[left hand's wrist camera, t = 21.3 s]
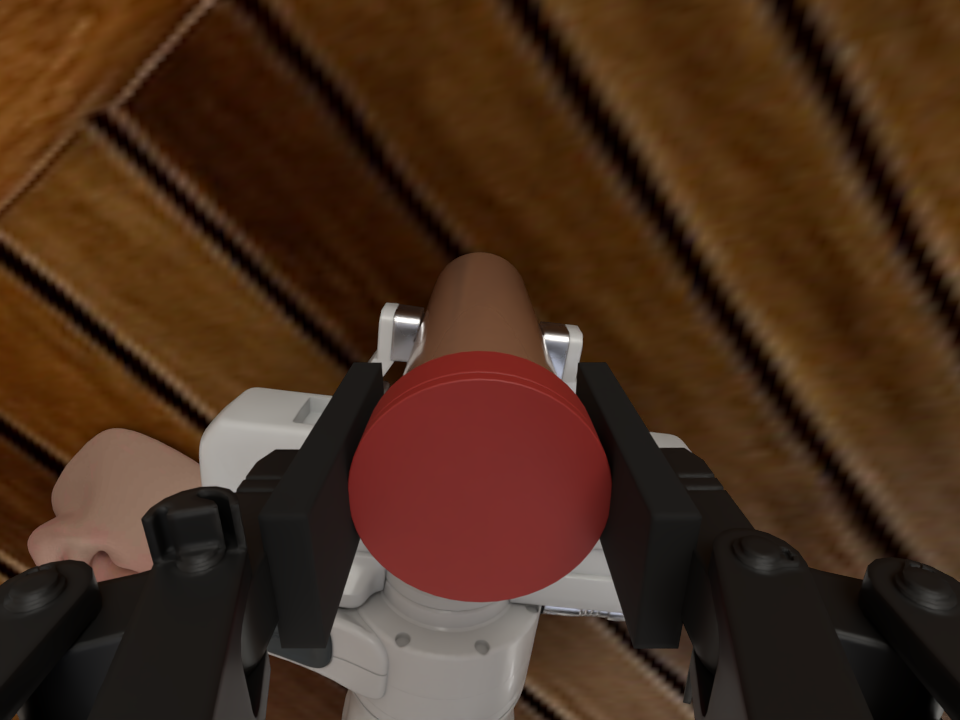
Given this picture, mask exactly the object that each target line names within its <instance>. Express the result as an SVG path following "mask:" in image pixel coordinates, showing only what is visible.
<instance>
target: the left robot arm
mask: <svg viewBox="0 0 960 720" xmlns="http://www.w3.org/2000/svg"><path fill="white" fill-rule="evenodd" d="M383 395H384V387H383V373H382V363H353V364H352V366H351V368H350V369H349V371H348V372H347V374H346V376H345V377H344V379H343V380H342V382H341V384H340V385H339V387H338V388H337V390H336V392H335V393H334V395H333V396H332V398H331V400H330V401H329V403H328V404H327V406H326V408H325V409H324V411H323V413H322V414H321V416H320V417H319V419H318V421H317V422H316V424H315V425H314V427H313V429H312V430H311V432H310V433H309V435H308V437H307V438H306V440H305V441H304V443H303V445H302V446H301V448H300V449H275V450H274V451H272V452H271V453H269V454H268V455H266V456H265V457H263V458H262V459H260V460H259V461H257V462H256V463H255V465H254V466H253V468H252V469H251V470H250V472H249V473H248V474H247V476H246V479H245V480H243V481H242V482H241V484H240V485H239V486H238V488H237V491H236V492H233V491H231V490H230V489H227V488H223V487H218V486H207V487H197V488H193V489H188V490H184V491H181V492H178V493H176V494H174V495H171V496H169V497H167V498H164V499H163V500H161V501H160V502H158V503H157V504H155V505H154V506H152V507H151V508H150V509H149V510H148V511H147V512H146V513H145V515H144V516H143V517H142V518H141V521H142V525H143V528H144V532H145V536H146V539H147V543H148V547H149V550H150V554H151V557H152V561H153V566H152V568H151V570H148V571H144V572H141V573H137V574H132V575H128V576H123V577H119V578H114V579H110V580H105V581H100V582H97V581H96V578H95V575H94V571H93V568H92V567H91V566H89V565H88V564H87V563H86V562H84V561H77V560H63V561H55V562H50V563H46V564H42V565H40V566H36V567H33V568H31V569H28V570H26V571H25V572H23V573H21V574H19V575H17V576H15V577H13V578H11V579H9V580H7V581H6V582H4V583H3V584H2V585H0V720H11V719H12V718H13V717H14V716H15V714H16V713H17V715H18V717H19V719H20V720H265V717H266V707H267V698H268V689H269V680H270V670H271V669H270V662H269V656H268V651H267V647H268V644H269V642H270V640H271V637H272V635H273V633H274V631H275V628H276V626H278V632H279V638H280V643H281V648H326V646H327V643H328V639H329V636H330V633H331V630H332V627H333V624H334V620H335V617H336V614H337V611H338V608H339V605H340V601H341V598H342V595H343V592H344V589H345V586H346V582H347V579H348V576H349V573H350V570H351V567H352V563H353V560H354V557H355V554H356V551H357V548H358V544H359V541H360V537H359V535H358V533H357V531H356V529H355V526H354V523H353V520H352V518H351V511H350V503H349V492H348V476H349V470H350V466H351V463H352V459H353V456H354V454H355V451H356V449H357V447H358V444H359V442H360V440H361V437H362V435H363V433H364V430H365V428H366V426H367V423H368V421H369V419H370V417H371V414H372V412H373V410H374V408H375V407H376V405H377V404H378V402H379V400H380V399H381V397H382V396H383ZM576 395H577V396H578V398H579V399H580V401H581V402H582V404H583V405H584V407H585V409H586V411H587V413H588V415H589V417H590V419H591V421H592V423H593V426H594V428H595V430H596V433H597V435H598V437H599V440H600V442H601V444H602V447H603V449H604V451H605V454H606V457H607V460H608V463H609V466H610V471H611V477H612V489H611V500H610V509H609V517H608V520H607V523H606V526H605V528H604V530H603V532H602V534H601V536H600V538H599V539H600V542H601V545H602V549H603V552H604V555H605V558H606V561H607V564H608V568H609V571H610V574H611V577H612V580H613V583H614V587H615V590H616V593H617V596H618V599H619V602H620V606H621V609H622V612H623V615H624V618H625V621H626V625H627V628H628V631H629V634H630V637H631V640H632V644H633V647H634V648H678V647H679V641H680V636H681V630H682V625H683V624H684V626H685V629H686V631H687V633H688V635H689V638H690V640H691V642H692V645H693V651H692V656H691V661H690V666H689V671H688V677H687V682H686V687H685V693H684V700H683V702H684V703H688V704H690V703H691V698H692V697H693V706H694V715H695V720H942V718H941V716H942V714H943V711H945V712H946V713H947V715H948V716H949V717H950V718H951V719H952V720H960V582H958V581H957V580H955V579H954V578H953V577H951V576H949V575H947V574H945V573H943V572H941V571H939V570H937V569H935V568H933V567H931V566H928V565H925V564H923V563H922V564H921V563H920V562H916V561H912V560H908V559H900V558H893V557H888V558H881V559H876V560H874V561H873V562H872V563H871V564H869V565H868V567H867V570H866V573H865V576H864V579H863V580H861V579H856V578H852V577H847V576H843V575H838V574H833V573H829V572H824V571H820V570H816V569H813V568H809V567H808V565H807V563H806V562H805V560H804V559H803V557H802V556H801V555H800V553H799V552H798V551H797V550H796V549H794V548H793V547H792V546H790V545H789V544H788V543H787V542H785V541H783V540H781V539H779V538H777V537H775V536H773V535H771V534H769V533H766V532H762V531H758V530H755V529H754V528H753V526H752V525H751V524H750V522H749V521H748V520H747V518H746V517H745V515H744V514H743V513H742V511H741V510H740V509H739V507H738V506H737V505H736V503H735V502H734V501H733V499H732V498H731V497H730V495H729V494H728V493H727V491H726V490H723V486H722V485H721V483H720V482H719V481H718V479H717V478H714V474H713V473H712V471H711V470H710V469H709V467H708V466H707V465H706V463H705V462H704V460H702V459H701V458H699V457H698V456H696V455H695V454H693V453H692V452H690V451H689V450H687V449H686V448H659V447H658V445H657V444H656V442H655V440H654V439H653V437H652V435H651V434H650V432H649V431H648V429H647V427H646V426H645V424H644V423H643V421H642V419H641V418H640V416H639V415H638V413H637V411H636V410H635V408H634V407H633V405H632V403H631V402H630V400H629V399H628V397H627V395H626V394H625V392H624V391H623V389H622V387H621V386H620V384H619V383H618V381H617V379H616V378H615V376H614V375H613V373H612V371H611V370H610V368H609V367H608V365H607V363H578V368H577V382H576Z"/></svg>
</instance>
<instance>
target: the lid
mask: <svg viewBox="0 0 960 720" xmlns="http://www.w3.org/2000/svg"><path fill="white" fill-rule="evenodd" d="M611 489H612V477H611V471H610V466H609V463H608V460H607V457H606V454H605V451H604V449H603V447H602V444H601V442H600V440H599V437H598V435H597V433H596V430H595V428H594V426H593V423H592V421H591V419H590V417H589V415H588V413H587V411H586V409H585V407H584V405H583V404H582V402H581V401H580V399H579V398H578V396H577V395H576V394H575V393H574V392H573V391H572V389H571V388H570V387H569V386H568V385H567V384H566V383H565V382H564V381H562V380H561V379H560V378H559V377H557V376H556V375H555V374H554V373H552V372H550V371H549V370H547V369H545V368H544V367H542V366H540V365H538V364H536V363H534V362H532V361H529V360H527V359H524V358H521V357H518V356H514V355H511V354H505V353H500V352H491V351H470V352H460V353H455V354H450V355H445V356H442V357H439V358H436V359H433V360H430V361H428V362H426V363H424V364H422V365H420V366H418V367H416V368H414V369H413V370H411V371H410V372H408V373H407V374H405V375H404V376H402V377H401V378H400V379H399V380H398V381H396V382H395V383H394V384H393V385H392V386H391V387H390V388H389V389H388V390H387V392H386V393H385V394H384V395H383V396H382V397H381V399H380V400H379V402H378V404H377V405H376V407H375V408H374V410H373V412H372V414H371V417H370V419H369V421H368V423H367V426H366V428H365V430H364V433H363V435H362V437H361V440H360V442H359V444H358V447H357V449H356V451H355V454H354V456H353V459H352V463H351V466H350V470H349V476H348V492H349V503H350V511H351V518H352V520H353V523H354V526H355V529H356V531H357V533H358V535H359V537H360V538H361V540H362V542H363V544H364V545H365V547H366V548H367V549H368V551H369V552H370V553H371V555H372V556H373V557H374V558H375V559H376V560H377V561H378V562H379V563H380V564H381V565H382V566H383V567H384V568H385V569H386V570H388V571H389V572H390V573H391V574H392V575H394V576H395V577H397V578H398V579H400V580H402V581H403V582H405V583H406V584H408V585H410V586H412V587H414V588H416V589H418V590H420V591H423V592H426V593H429V594H431V595H434V596H438V597H442V598H446V599H450V600H457V601H464V602H497V601H503V600H509V599H514V598H518V597H522V596H525V595H529V594H531V593H534V592H537V591H539V590H542V589H544V588H546V587H548V586H550V585H551V584H553V583H555V582H557V581H558V580H560V579H561V578H563V577H564V576H566V575H567V574H569V573H570V572H571V571H572V570H573V569H575V568H576V567H577V566H578V565H579V564H580V563H581V562H582V561H583V560H584V559H585V558H586V557H587V556H588V554H589V553H590V552H591V551H592V549H593V548H594V546H595V545H596V543H597V542H598V540H599V538H600V536H601V534H602V532H603V530H604V528H605V526H606V523H607V520H608V517H609V509H610V500H611Z"/></svg>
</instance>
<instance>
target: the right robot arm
mask: <svg viewBox="0 0 960 720" xmlns="http://www.w3.org/2000/svg"><path fill="white" fill-rule="evenodd" d="M423 317H424V308H423V307H416V306H409V305H401V304H397V303H386V304H385V306H384V307H383V309H382V311H381V316H380V321H379V333H378V349H377V350H376V352H375V353H374V355H373V356H372V357H371V359H370V360H369V361H368V363H382V373H383V376H384V375H385V373H386V372H387V371H388V369H389V368H390V367H391V365H392V364H393V363H394V361H403V362H407V361H408V359H409V356H410V353H411V350H412V347H413V345H414V342H415V339H416V336H417V334H418V331H419V328H420V325H421V323H422V320H423ZM539 326H540V329H541V331H542V334H543V337H544V340H545V342H546V345H547V348H548V351H549V353H550V356H551V359H552V362H553V365H554V367H555V370H556V373H557V376H558V377H559V378H560V379H561V380H562V381H564V382H565V383H566V384H567V385H568V386H569V387H570V388H571V389H572V391H573V392H574V393H575V394H576V382H577V378H576V375H577V368H578V363H579V361H580V356H581V351H582V346H583V335H582V333H581V331H580V329H579V328H578V326H575V325H567V324H559V323H549V322H540V324H539ZM383 387H384V394H385V393H386V392H387V390H388V389H389V387H390V384H389V383H388V382H387V381H383ZM331 398H332V396H328V395H320V394H311V393H302V392H293V391H284V390H276V389H268V388H250V389H248V390H246V391H244V392H243V393H242V394H241V395H239V396H238V397H237V398H236V399H234V400H233V401H232V402H231V403H230V404H228V405H227V406H226V407H225V408H224V409H223V410H222V411H221V412H220V413H219V414H218V415H217V416H216V417H215V418H214V420H213V421H212V422H211V423H210V424H209V426H208V427H207V428H206V430H205V432H204V434H203V436H202V438H201V441H200V448H199V463H200V475H201V485H202V487H207V486H218V487H223V488H227V489H230V490H231V491H233V492H236V491H237V488H238V486H239V485H240V484H241V482H242V481H243V480H245V479H246V476H247V474H248V473H249V472H250V470H251V469H252V468H253V466H254V465H255V463H256V462H257V461H259V460H260V459H262V458H263V457H265V456H266V455H268V454H269V453H271V452H272V451H274V450H275V449H300V448H301V446H302V445H303V443H304V441H305V440H306V438H307V437H308V435H309V433H310V432H311V430H312V429H313V427H314V425H315V424H316V422H317V421H318V419H319V417H320V416H321V414H322V413H323V411H324V409H325V408H326V406H327V404H328V403H329V401H330V400H331ZM650 434H651V435H652V437H653V439H654V440H655V442H656V444H657V445H658V447H659V448H686V449H687V450H689V451H690V449H689V448H688V447H687V446H686V445H685V443H684V442H683V441H682V440H681V439H680V438H678V437H677V436H674V435H670V434H663V433H654V432H650ZM690 452H691V451H690ZM541 613H542V614H549V615H559V616H570V617H579V616H580V617H584V616H594V617H596V616H597V617H605V619H607V620H612V621H625V618H624V615H623V612H622V609H621V606H620V602H619V599H618V596H617V593H616V590H615V587H614V583H613V580H612V577H611V574H610V571H609V568H608V564H607V561H606V558H605V555H604V552H603V549H602V545H601V542H600V539H599V540H598V542H597V543H596V545H595V546H594V548H593V549H592V551H591V552H590V553H589V554H588V556H587V557H586V558H585V559H584V560H583V561H582V562H581V563H580V564H579V565H578V566H577V567H576V568H575V569H573V570H572V571H571V572H570V573H569V574H567V575H566V576H564V577H563V578H561V579H560V580H558V581H557V582H555V583H553V584H551V585H550V586H548V587H546V588H544V589H542V590H539V591H537V592H534V593H531V594H529V595H525V596H522V597H518V598H514V599H509V600H503V601H497V602H464V601H457V600H450V599H446V598H442V597H438V596H434V595H431V594H429V593H426V592H423V591H420V590H418V589H416V588H414V587H412V586H410V585H408V584H406V583H405V582H403V581H402V580H400V579H398V578H397V577H395V576H394V575H392V574H391V573H390V572H389V571H388V570H386V569H385V568H384V567H383V566H382V565H381V564H380V563H379V562H378V561H377V560H376V559H375V558H374V557H373V556H372V555H371V553H370V552H369V551H368V549H367V548H366V547H365V545H364V544H363V542H362V540H361V538H360V541H359V544H358V548H357V551H356V554H355V557H354V560H353V563H352V567H351V570H350V573H349V576H348V579H347V582H346V586H345V589H344V592H343V595H342V598H341V601H340V605H339V608H338V611H337V614H336V617H335V620H334V624H333V627H332V630H331V633H330V636H329V639H328V643H327V646H326V648H281V643H280V638H279V632H278V626H276V628H275V631H274V633H273V635H272V637H271V640H270V642H269V644H268V647H267V651H268V654H270V655H273V656H276V657H278V658H281V659H284V660H287V661H290V662H292V663H295V664H298V665H300V666H303V667H305V668H308V669H310V670H312V671H315V672H317V673H319V674H321V675H323V676H325V677H327V678H329V679H331V680H333V681H335V682H337V683H339V684H340V685H342V686H344V687H346V688H347V689H348V692H347V695H346V698H345V703H344V708H343V714H342V720H514V707H515V705H516V703H517V701H518V700H519V697H520V695H521V692H522V689H523V686H524V684H525V679H526V675H527V670H528V666H529V661H530V657H531V652H532V648H533V643H534V638H535V634H536V629H537V625H538V620H539V616H540V614H541Z"/></svg>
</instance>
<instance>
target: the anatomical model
mask: <svg viewBox="0 0 960 720" xmlns="http://www.w3.org/2000/svg"><path fill="white" fill-rule="evenodd" d="M197 487H202V485H201V475H200V464H199V463H197V462H196V461H194V460H193V459H191V458H189V457H187V456H186V455H184V454H182V453H181V452H179V451H177V450H175V449H173V448H171V447H170V446H168V445H166V444H164V443H162V442H160V441H158V440H156V439H153V438H151V437H149V436H146V435H144V434H141V433H139V432H136V431H132V430H128V429H122V428H112V429H108V430H105V431H103V432H101V433H99V434H97V435H96V436H95V437H94V438H92V439H91V440H90V441H89V442H87V443H86V445H85V446H84V447H83V448H82V449H81V450H80V451H79V452H78V453H77V454H76V455H75V456H74V457H73V458H72V459H71V461H70V462H69V463H68V464H67V466H66V467H65V469H64V470H63V472H62V474H61V475H60V477H59V479H58V481H57V482H56V484H55V486H54V489H53V492H52V506H53V510H54V512H55V515H56V517H55V518H54V519H52V520H50V521H48V522H46V523H44V524H43V525H41V526H39V527H38V528H37V529H35V530H34V531H33V533H32V534H31V536H30V537H29V539H28V550H29V552H30V554H31V556H32V558H33V560H34V562H35V564H36V566H40V565H42V564H46V563H50V562H55V561H63V560H77V561H84V562H86V563H87V564H88V565H89V566H91V567H92V568H93V571H94V575H95V578H96V581H97V582H100V581H105V580H110V579H114V578H119V577H123V576H128V575H132V574H137V573H141V572H144V571H148V570H151V568H152V566H153V561H152V557H151V554H150V550H149V547H148V543H147V539H146V536H145V532H144V528H143V525H142V521H141V518H142V517H143V516H144V515H145V513H146V512H147V511H148V510H149V509H150V508H151V507H152V506H154V505H155V504H157V503H158V502H160V501H161V500H163V499H164V498H167V497H169V496H171V495H174V494H176V493H178V492H181V491H184V490H188V489H193V488H197Z"/></svg>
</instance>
